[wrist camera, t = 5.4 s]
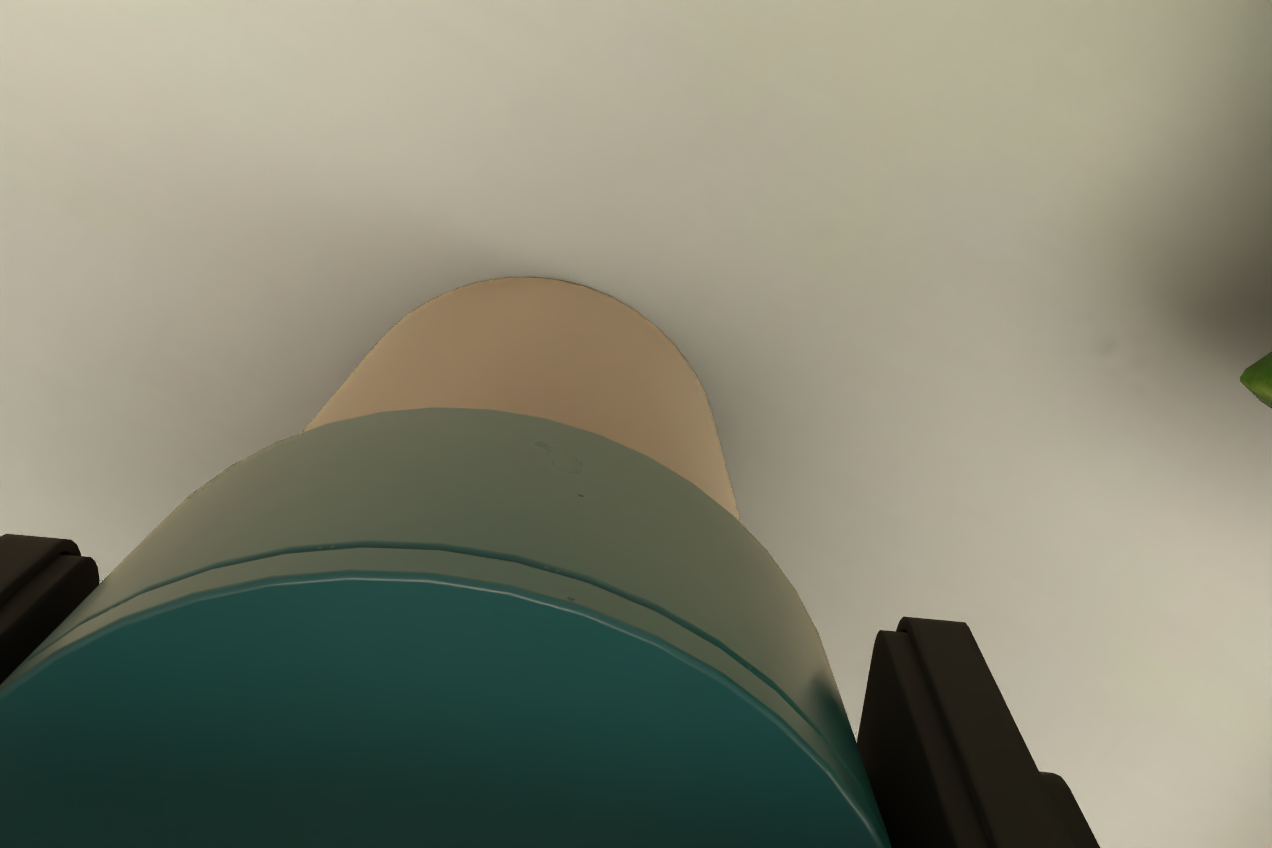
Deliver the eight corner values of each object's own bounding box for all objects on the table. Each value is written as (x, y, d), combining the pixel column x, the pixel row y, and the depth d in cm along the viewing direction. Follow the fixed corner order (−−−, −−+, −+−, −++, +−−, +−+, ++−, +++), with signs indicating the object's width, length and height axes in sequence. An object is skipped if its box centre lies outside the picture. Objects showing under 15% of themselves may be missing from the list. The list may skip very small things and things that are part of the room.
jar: (647, 678, 20) (682, 1377, 9) (297, 576, 19) (-91, 1206, 9) (773, 347, 18) (987, 744, 8) (393, 223, 18) (57, 472, 7)
